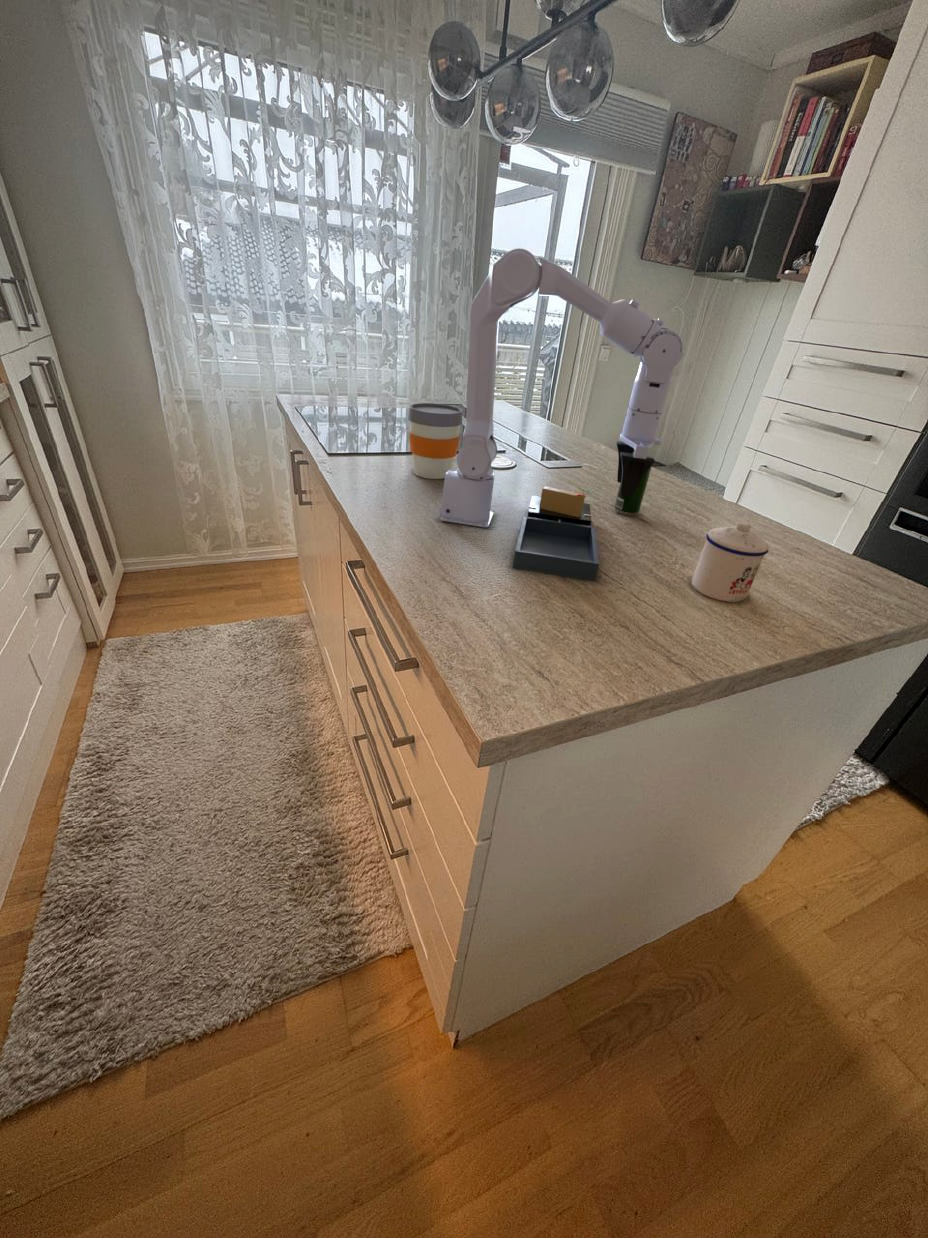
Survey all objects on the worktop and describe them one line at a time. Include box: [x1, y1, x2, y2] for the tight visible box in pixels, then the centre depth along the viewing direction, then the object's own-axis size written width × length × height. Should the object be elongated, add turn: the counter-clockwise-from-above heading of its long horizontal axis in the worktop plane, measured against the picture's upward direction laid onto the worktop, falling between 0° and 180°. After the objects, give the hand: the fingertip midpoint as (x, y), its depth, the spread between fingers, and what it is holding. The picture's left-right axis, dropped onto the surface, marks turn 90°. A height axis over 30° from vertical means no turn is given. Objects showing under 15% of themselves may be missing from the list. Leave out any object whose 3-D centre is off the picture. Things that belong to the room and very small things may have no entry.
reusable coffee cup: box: [407, 402, 463, 480], centre depth 122 cm, size 13×13×15 cm
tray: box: [512, 516, 600, 582], centre depth 91 cm, size 14×17×3 cm
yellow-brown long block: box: [539, 485, 586, 517], centre depth 99 cm, size 8×2×4 cm, turn 65°
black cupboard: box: [527, 495, 592, 526], centre depth 102 cm, size 14×12×4 cm
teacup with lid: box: [691, 521, 770, 603], centre depth 83 cm, size 12×9×12 cm
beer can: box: [614, 455, 653, 517], centre depth 111 cm, size 5×5×12 cm
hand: (624, 488), depth 94 cm, fingers open, 7 cm apart
